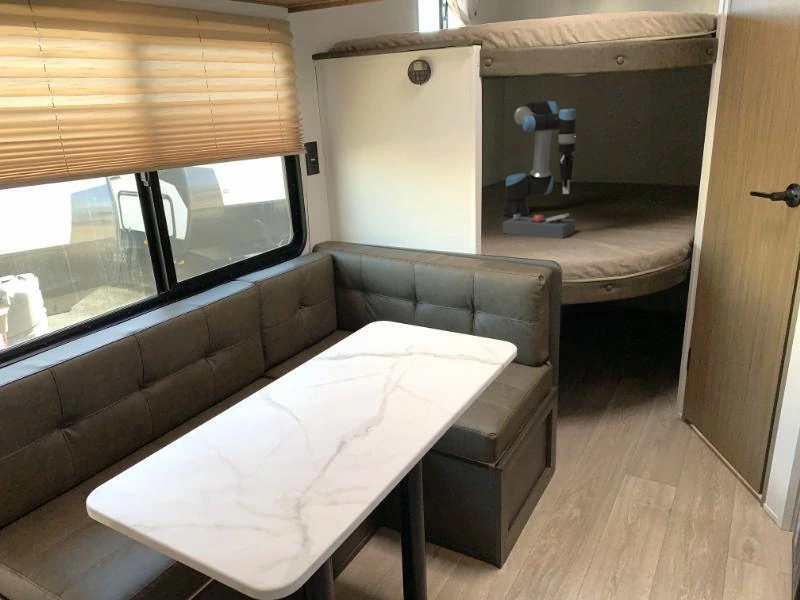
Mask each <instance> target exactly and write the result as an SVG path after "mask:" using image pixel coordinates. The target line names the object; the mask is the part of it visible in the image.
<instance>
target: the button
mask: <svg viewBox="0 0 800 600" xmlns="http://www.w3.org/2000/svg"><path fill="white" fill-rule="evenodd" d="M533 217H534V222H538V223H542V222H543V218H545V216H544V214H540V213H539V214H538V213H537V214H533Z"/></svg>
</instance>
